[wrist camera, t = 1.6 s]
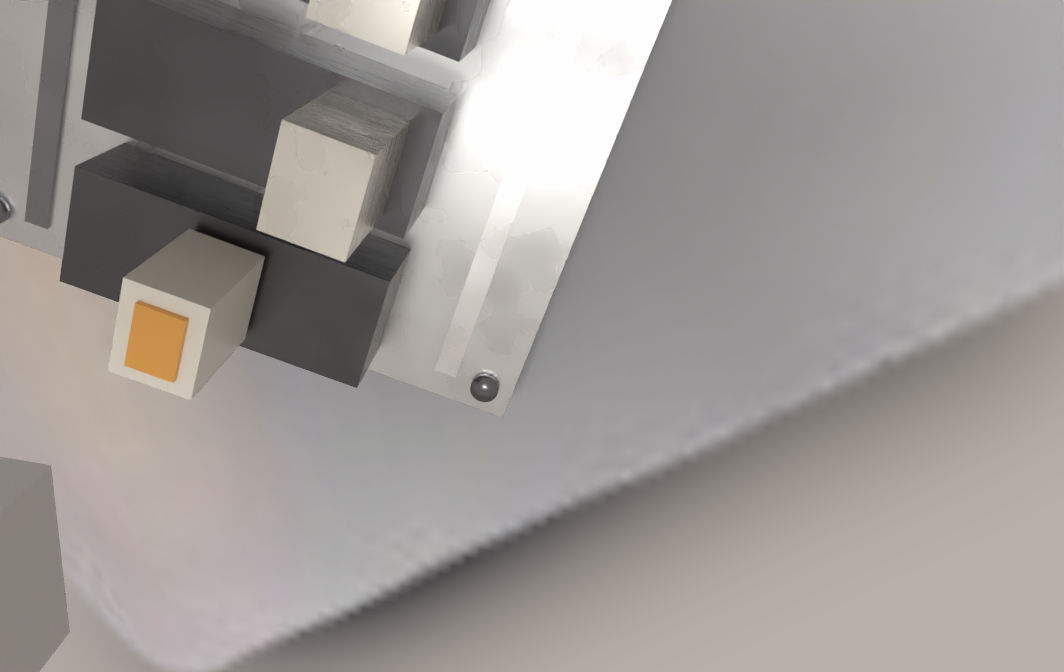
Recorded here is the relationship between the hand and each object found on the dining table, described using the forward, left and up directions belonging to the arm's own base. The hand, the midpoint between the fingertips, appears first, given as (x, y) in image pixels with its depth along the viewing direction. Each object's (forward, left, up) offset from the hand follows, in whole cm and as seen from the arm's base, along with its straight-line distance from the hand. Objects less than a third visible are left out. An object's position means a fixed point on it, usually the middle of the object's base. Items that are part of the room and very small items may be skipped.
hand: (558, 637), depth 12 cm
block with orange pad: (-10, -6, -16) cm, 20 cm away
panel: (-10, -1, -22) cm, 24 cm away
